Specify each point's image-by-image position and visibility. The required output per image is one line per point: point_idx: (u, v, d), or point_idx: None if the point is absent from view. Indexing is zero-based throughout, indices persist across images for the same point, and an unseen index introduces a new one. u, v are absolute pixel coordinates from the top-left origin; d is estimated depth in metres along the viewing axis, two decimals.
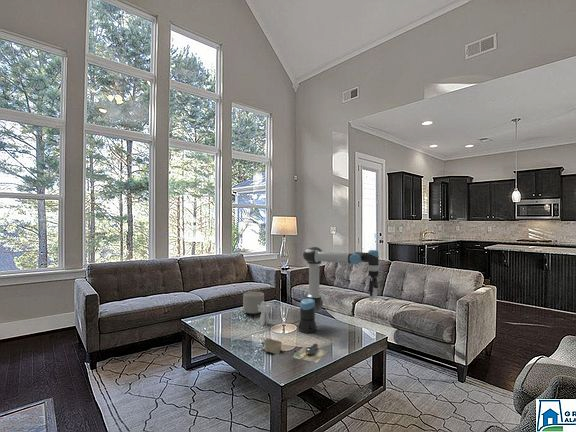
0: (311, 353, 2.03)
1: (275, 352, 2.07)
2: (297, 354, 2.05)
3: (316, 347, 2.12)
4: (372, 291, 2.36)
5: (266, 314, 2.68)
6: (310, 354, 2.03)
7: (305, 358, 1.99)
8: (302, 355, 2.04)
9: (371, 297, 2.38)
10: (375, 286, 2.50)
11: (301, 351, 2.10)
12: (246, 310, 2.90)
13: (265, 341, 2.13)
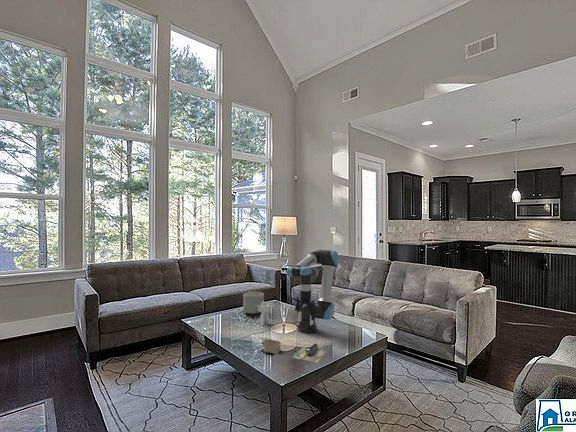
0: (311, 353, 2.03)
1: (275, 352, 2.07)
2: (297, 354, 2.05)
3: (316, 347, 2.12)
4: (297, 311, 2.20)
5: (266, 314, 2.68)
6: (310, 354, 2.03)
7: (305, 358, 1.99)
8: (302, 355, 2.04)
9: None
10: None
11: (301, 351, 2.10)
12: (246, 310, 2.90)
13: (264, 342, 2.12)
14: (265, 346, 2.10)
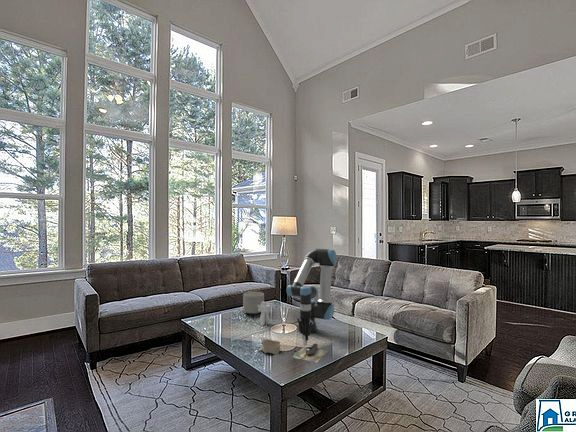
0: (311, 353, 2.03)
1: (275, 352, 2.06)
2: (297, 354, 2.05)
3: (316, 347, 2.12)
4: (302, 334, 2.17)
5: (266, 314, 2.68)
6: (310, 354, 2.03)
7: (305, 358, 1.99)
8: (302, 355, 2.04)
9: None
10: None
11: (301, 351, 2.10)
12: (246, 310, 2.90)
13: (263, 342, 2.12)
14: (265, 346, 2.10)
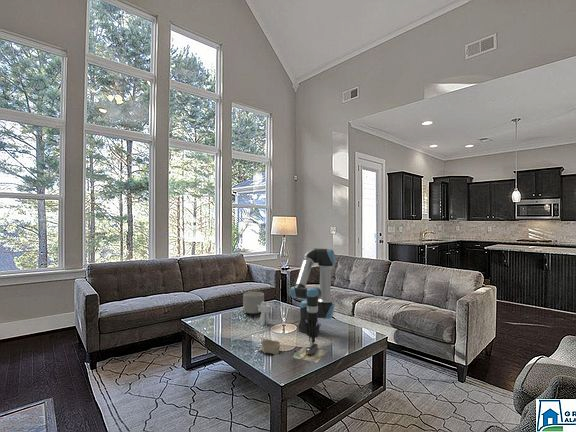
0: (311, 353, 2.03)
1: (274, 352, 2.06)
2: (297, 354, 2.05)
3: (316, 347, 2.12)
4: (309, 336, 2.14)
5: (266, 314, 2.68)
6: (310, 354, 2.03)
7: (305, 358, 1.99)
8: (302, 355, 2.04)
9: None
10: None
11: (301, 351, 2.10)
12: (246, 310, 2.90)
13: (263, 342, 2.11)
14: (264, 347, 2.09)
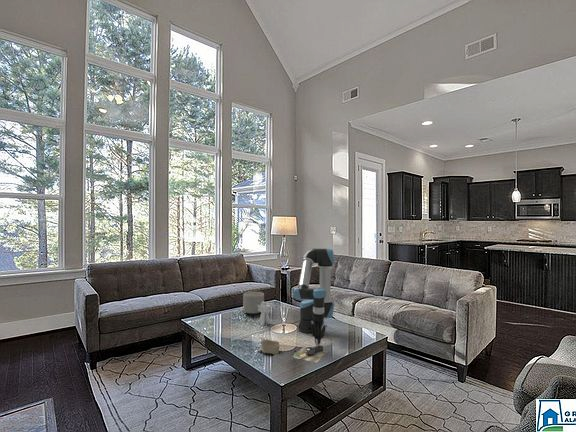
0: (309, 353, 2.03)
1: (274, 352, 2.06)
2: (297, 354, 2.05)
3: (320, 349, 2.09)
4: (315, 338, 2.12)
5: (266, 314, 2.68)
6: (308, 354, 2.03)
7: (305, 358, 1.99)
8: (302, 355, 2.04)
9: None
10: None
11: (301, 351, 2.10)
12: (246, 310, 2.90)
13: (262, 342, 2.11)
14: (264, 347, 2.09)
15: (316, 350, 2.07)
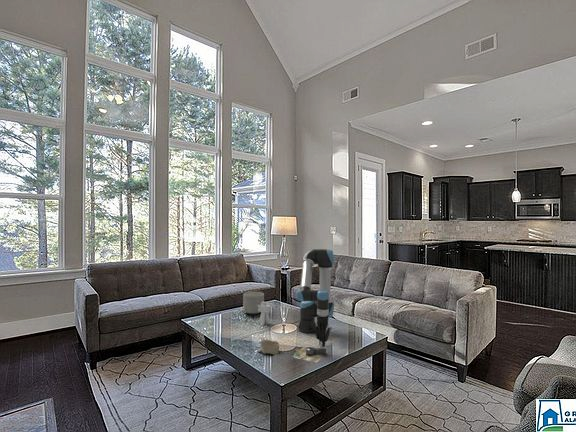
0: (306, 352, 2.04)
1: (274, 353, 2.06)
2: (297, 354, 2.05)
3: (322, 352, 2.04)
4: (319, 340, 2.08)
5: (266, 314, 2.68)
6: (306, 353, 2.05)
7: (305, 358, 1.99)
8: (302, 355, 2.04)
9: None
10: None
11: (301, 351, 2.10)
12: (246, 310, 2.90)
13: (262, 343, 2.10)
14: (264, 347, 2.08)
15: (317, 352, 2.05)
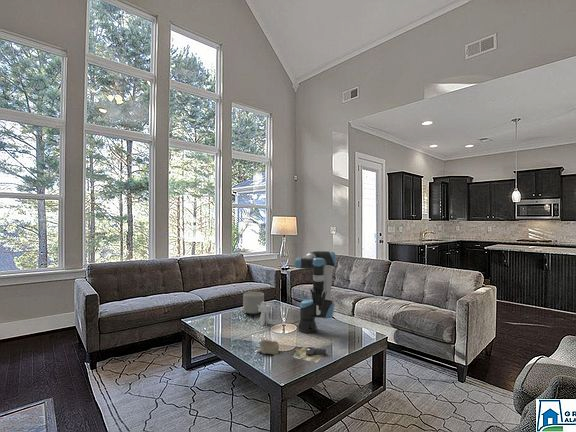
0: (306, 352, 2.04)
1: (274, 353, 2.06)
2: (297, 354, 2.05)
3: (322, 352, 2.04)
4: (315, 304, 2.22)
5: (266, 314, 2.68)
6: (306, 353, 2.05)
7: (305, 358, 1.99)
8: (302, 355, 2.04)
9: None
10: None
11: (301, 351, 2.10)
12: (246, 310, 2.90)
13: (261, 343, 2.10)
14: (263, 347, 2.08)
15: (317, 352, 2.05)
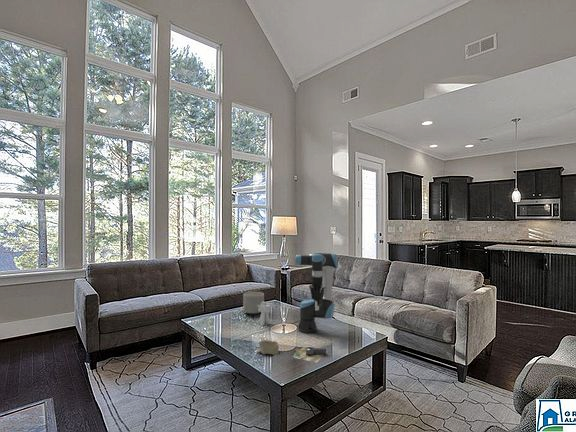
0: (306, 352, 2.04)
1: (274, 353, 2.06)
2: (297, 354, 2.05)
3: (322, 352, 2.04)
4: (314, 300, 2.25)
5: (266, 314, 2.68)
6: (306, 353, 2.05)
7: (305, 358, 1.99)
8: (302, 355, 2.04)
9: None
10: None
11: (301, 351, 2.10)
12: (246, 310, 2.90)
13: (261, 343, 2.09)
14: (263, 348, 2.07)
15: (317, 352, 2.05)
